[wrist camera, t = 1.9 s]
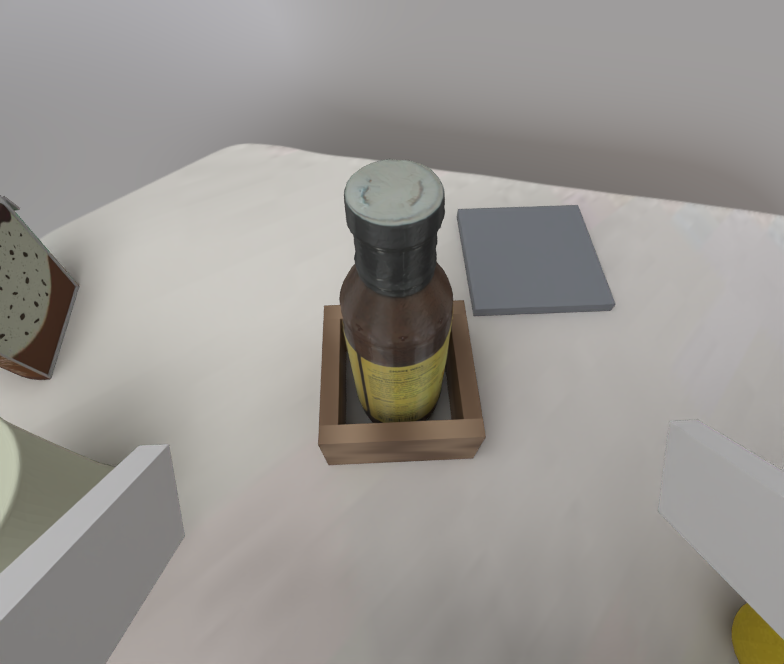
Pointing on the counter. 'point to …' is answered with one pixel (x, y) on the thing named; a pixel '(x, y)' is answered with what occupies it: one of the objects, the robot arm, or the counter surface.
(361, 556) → the counter surface
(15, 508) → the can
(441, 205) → the sauce bottle
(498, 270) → the rubber mat
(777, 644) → the lemon
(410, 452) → the walnut sleeve
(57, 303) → the food container
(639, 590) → the counter surface
